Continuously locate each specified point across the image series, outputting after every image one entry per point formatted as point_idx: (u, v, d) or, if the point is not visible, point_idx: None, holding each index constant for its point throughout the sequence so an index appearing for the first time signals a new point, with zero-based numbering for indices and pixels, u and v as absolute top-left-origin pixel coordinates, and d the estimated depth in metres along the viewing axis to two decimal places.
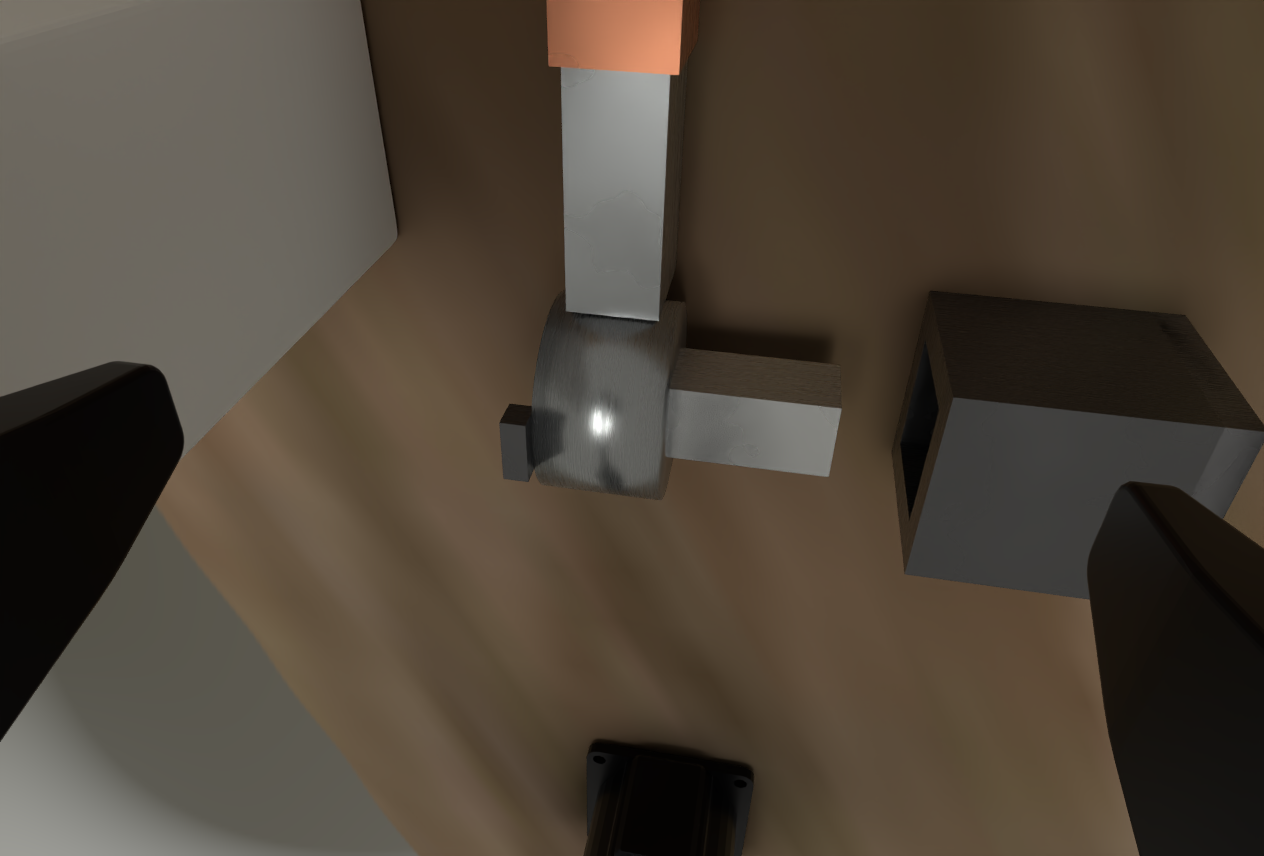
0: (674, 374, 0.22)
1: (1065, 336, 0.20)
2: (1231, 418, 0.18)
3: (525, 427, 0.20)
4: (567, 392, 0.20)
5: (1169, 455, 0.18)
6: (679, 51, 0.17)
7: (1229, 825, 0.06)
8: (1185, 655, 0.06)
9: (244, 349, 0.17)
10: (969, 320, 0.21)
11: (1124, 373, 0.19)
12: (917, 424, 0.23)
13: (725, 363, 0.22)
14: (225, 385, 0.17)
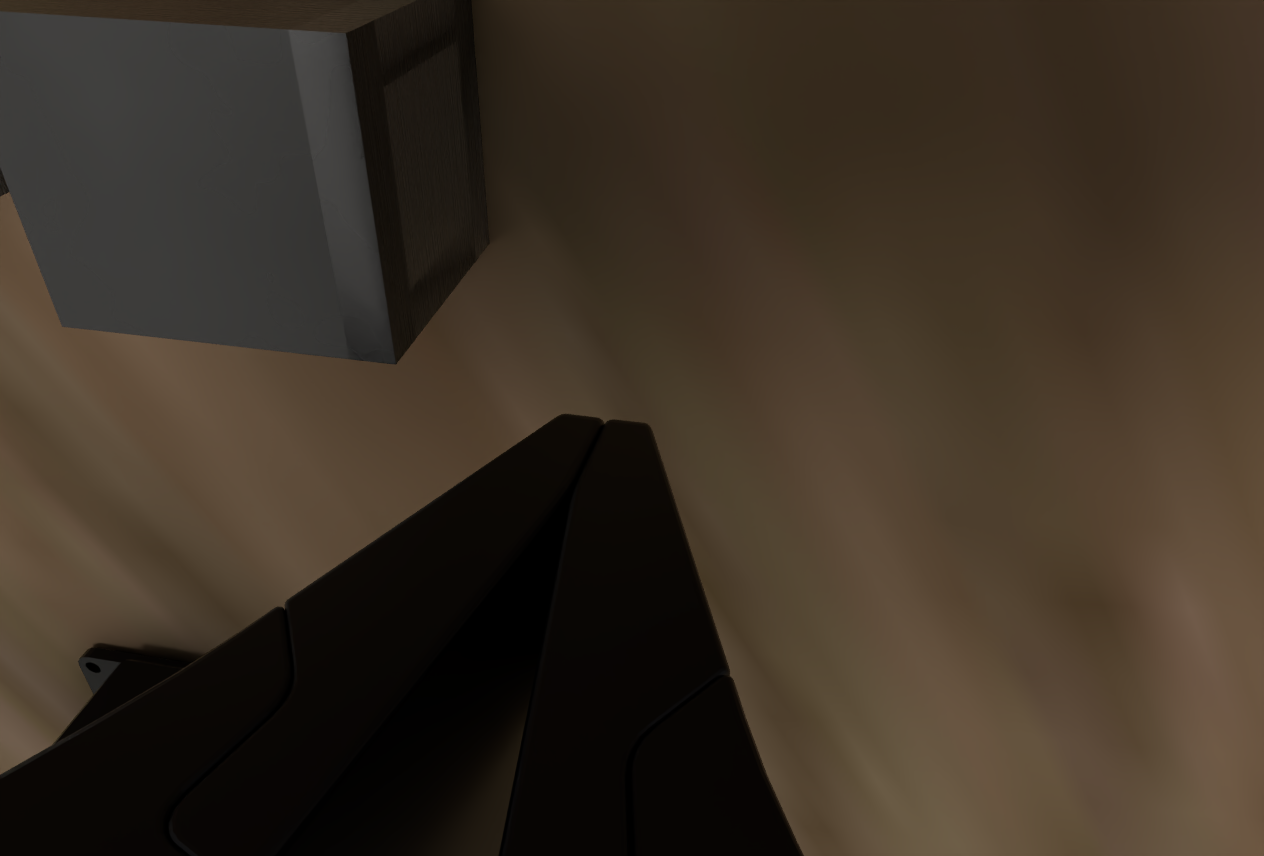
0: None
1: None
2: (319, 25, 0.12)
3: None
4: None
5: (249, 89, 0.12)
6: None
7: None
8: None
9: None
10: None
11: (259, 0, 0.13)
12: None
13: None
14: None
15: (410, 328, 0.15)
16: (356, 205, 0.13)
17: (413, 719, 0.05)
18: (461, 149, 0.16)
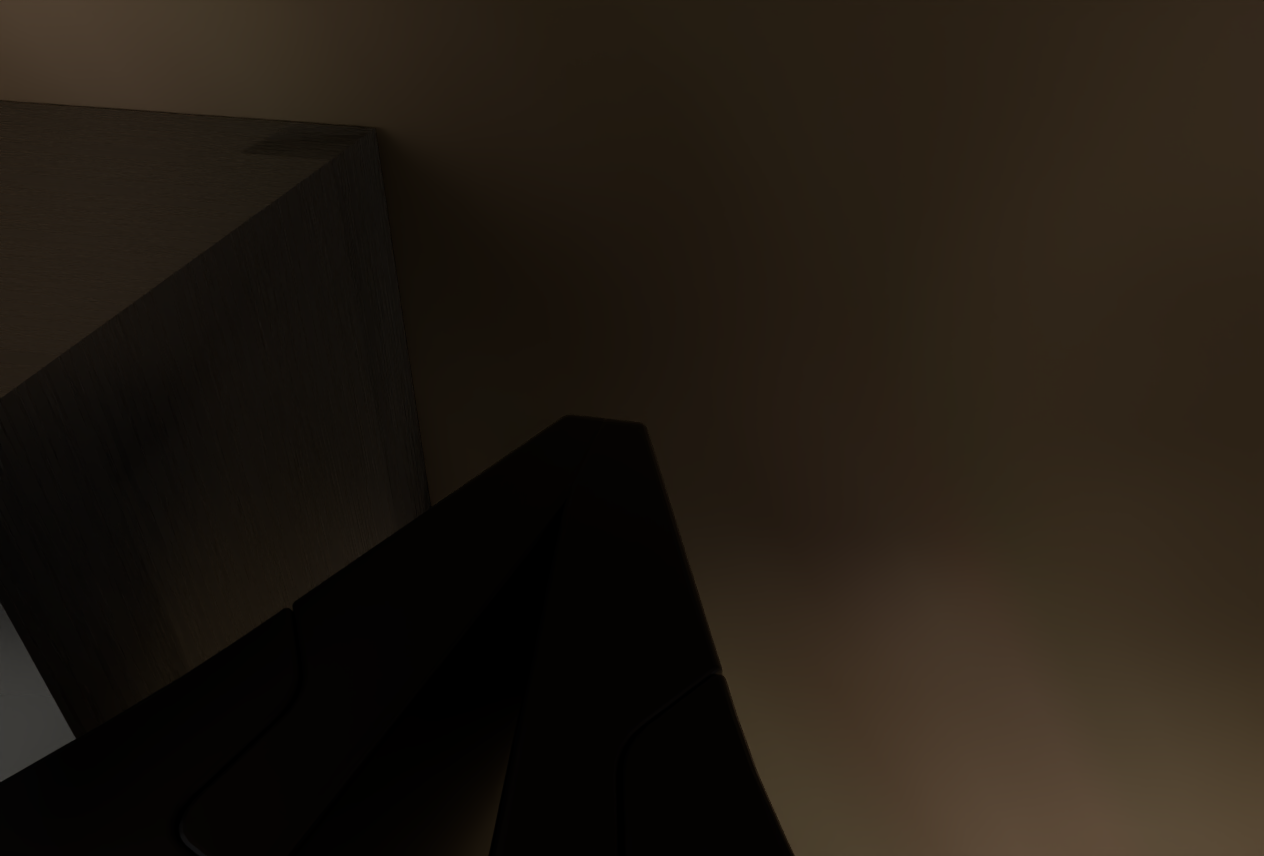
0: None
1: None
2: None
3: None
4: None
5: None
6: None
7: None
8: None
9: None
10: None
11: None
12: None
13: None
14: None
15: None
16: None
17: (421, 721, 0.05)
18: (368, 445, 0.09)
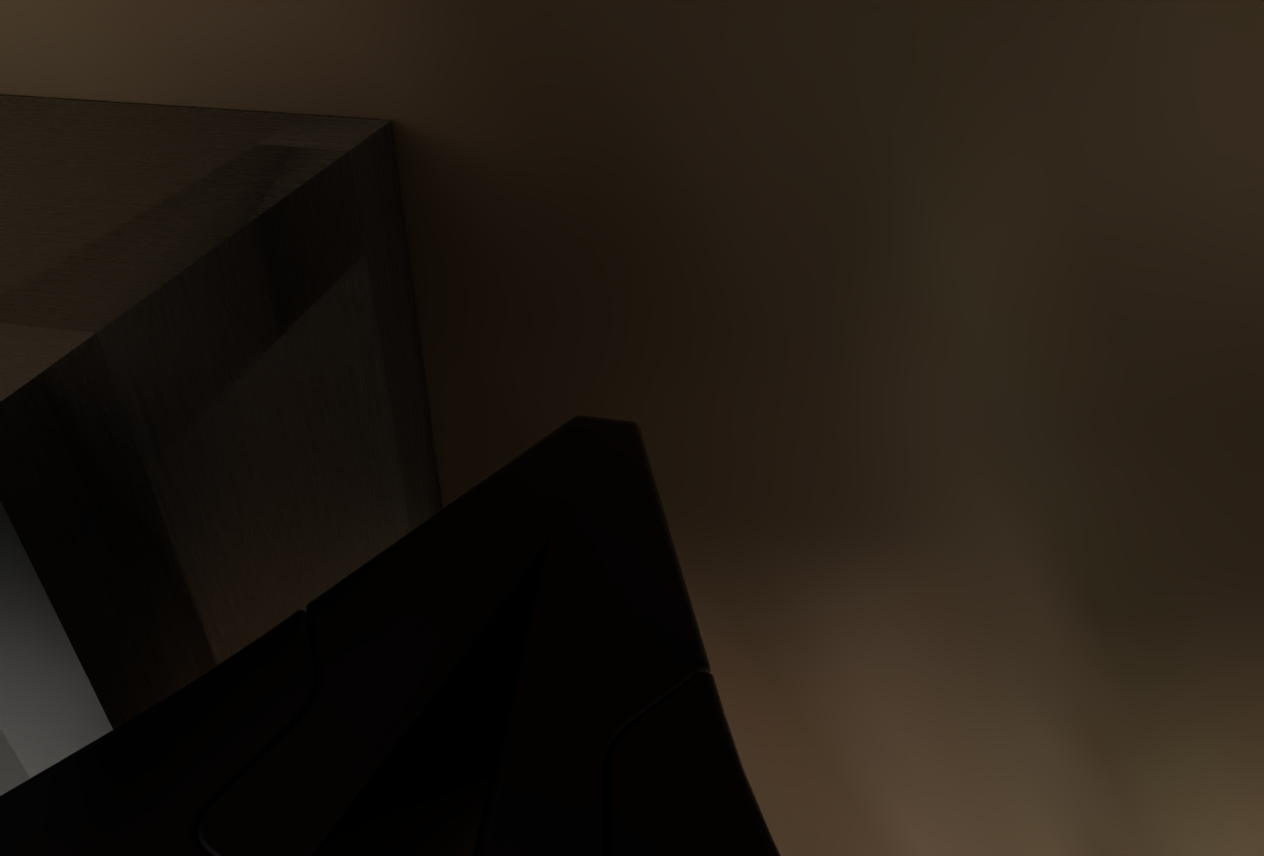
0: None
1: None
2: None
3: None
4: None
5: None
6: None
7: None
8: None
9: None
10: None
11: None
12: None
13: None
14: None
15: None
16: None
17: (437, 724, 0.05)
18: (383, 436, 0.09)
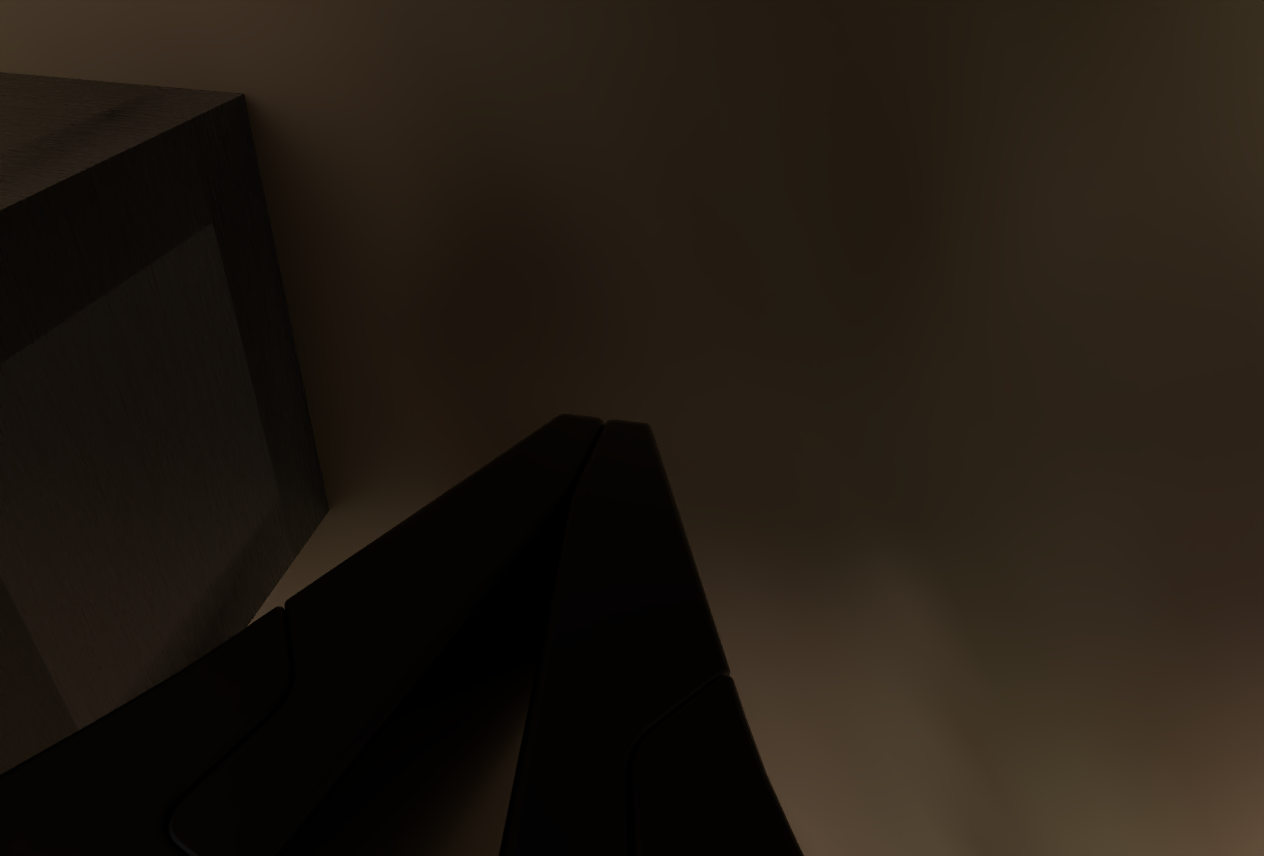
0: None
1: None
2: None
3: None
4: None
5: None
6: None
7: None
8: None
9: None
10: None
11: None
12: None
13: None
14: None
15: None
16: None
17: (412, 720, 0.05)
18: (241, 404, 0.09)
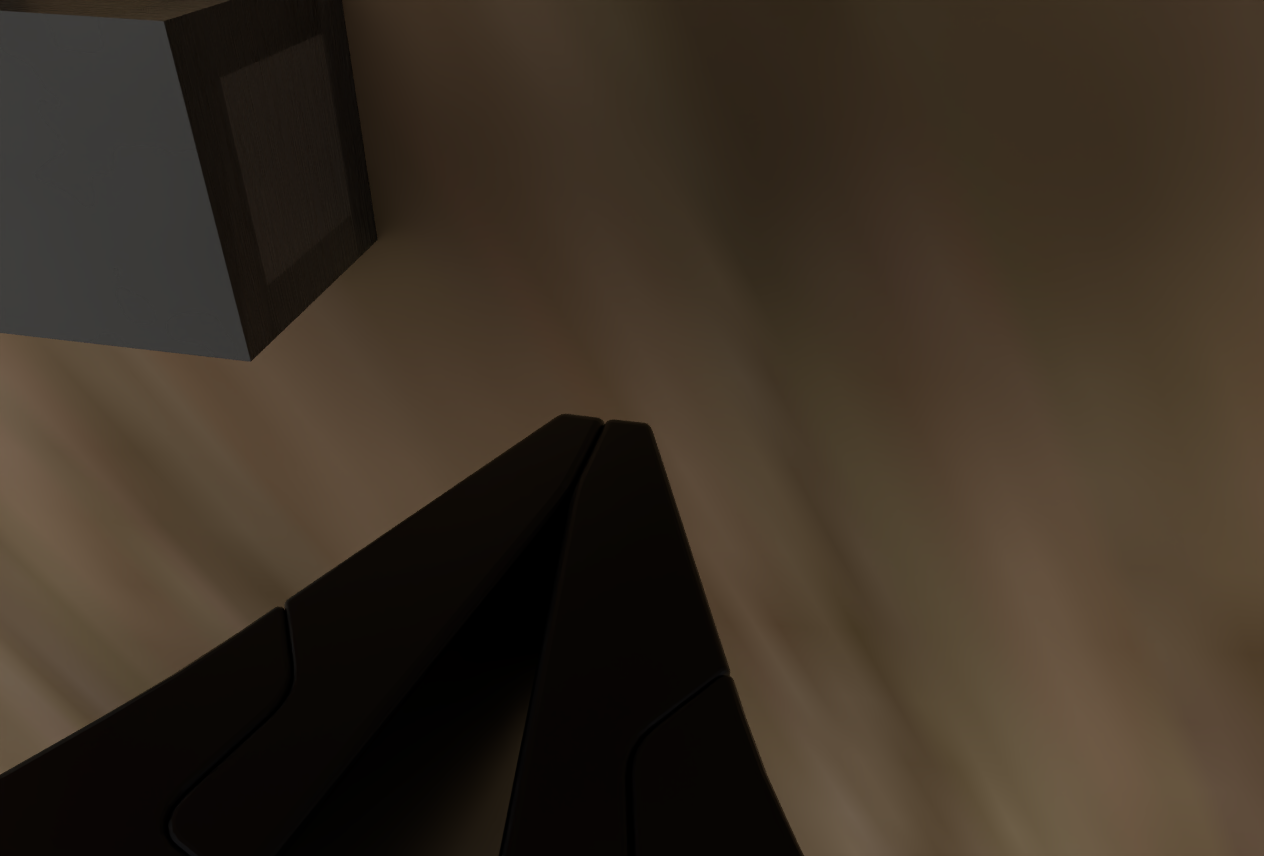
0: None
1: None
2: (142, 13, 0.12)
3: None
4: None
5: (74, 79, 0.12)
6: None
7: None
8: None
9: None
10: None
11: None
12: None
13: None
14: None
15: (269, 325, 0.15)
16: (193, 198, 0.13)
17: (412, 719, 0.05)
18: (333, 143, 0.16)
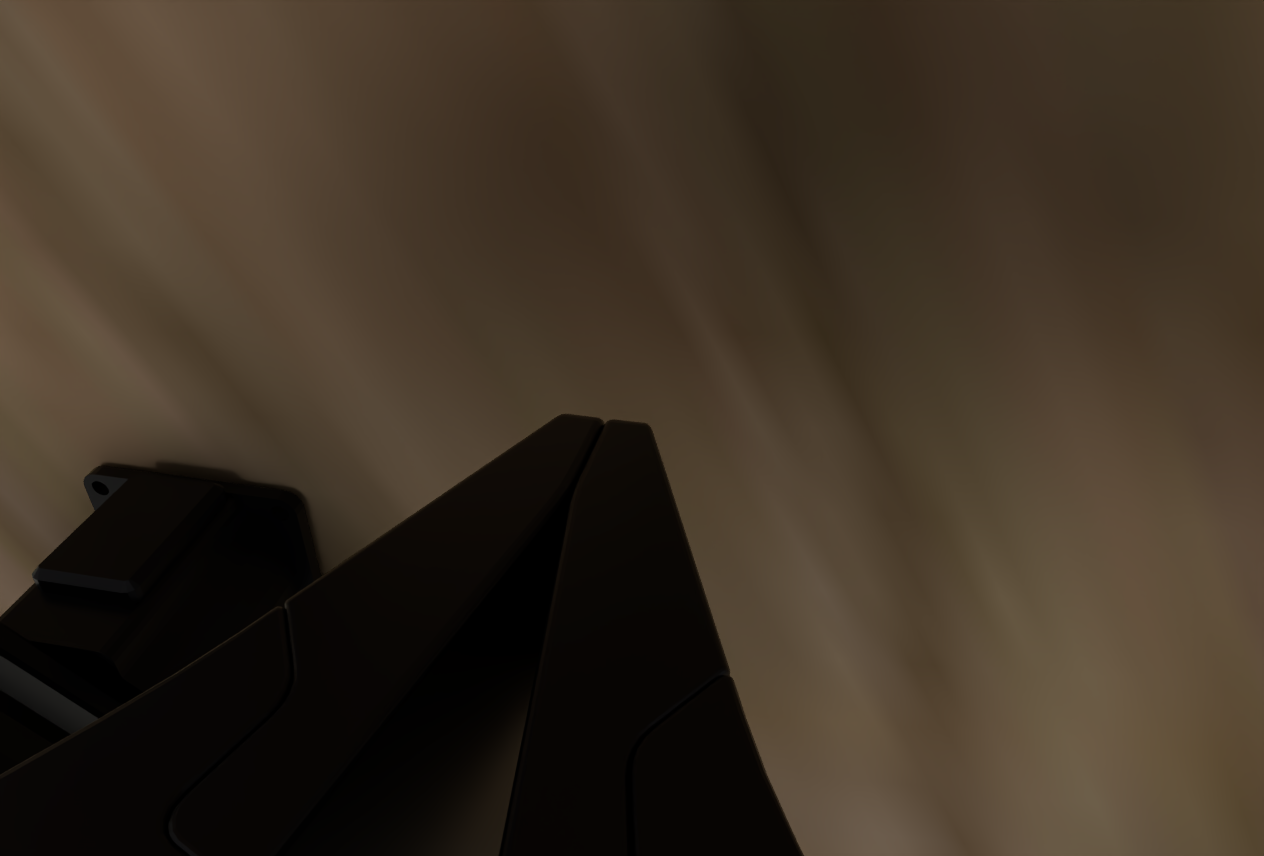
0: None
1: None
2: None
3: None
4: None
5: None
6: None
7: None
8: None
9: None
10: None
11: None
12: None
13: None
14: None
15: None
16: None
17: (412, 719, 0.05)
18: None
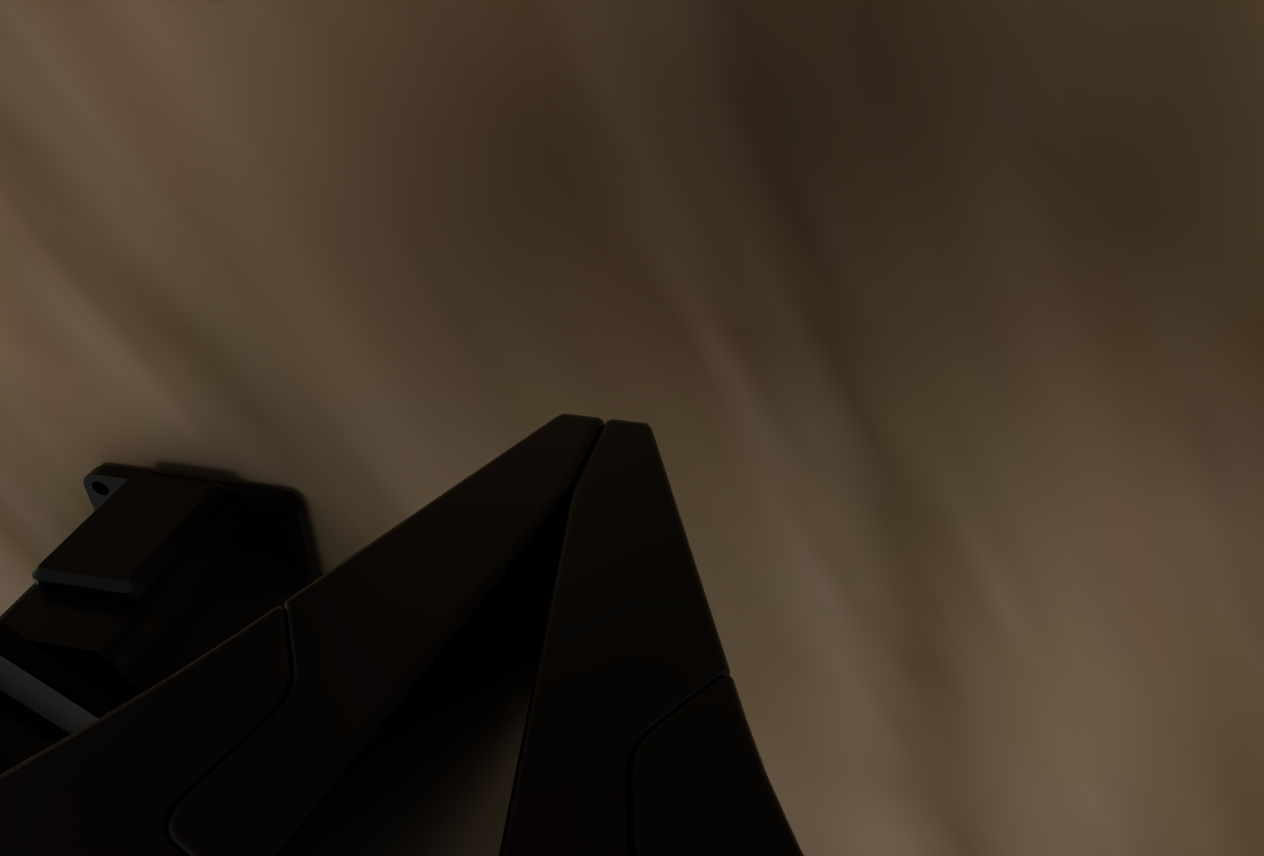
0: None
1: None
2: None
3: None
4: None
5: None
6: None
7: None
8: None
9: None
10: None
11: None
12: None
13: None
14: None
15: None
16: None
17: (412, 719, 0.05)
18: None
